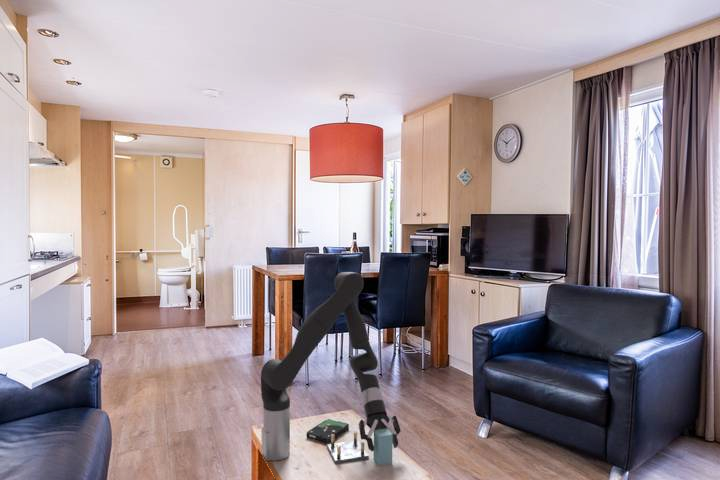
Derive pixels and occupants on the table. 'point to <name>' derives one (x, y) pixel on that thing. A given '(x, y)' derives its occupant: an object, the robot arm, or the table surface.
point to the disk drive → (327, 431)
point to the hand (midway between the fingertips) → (384, 448)
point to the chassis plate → (347, 450)
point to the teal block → (383, 446)
